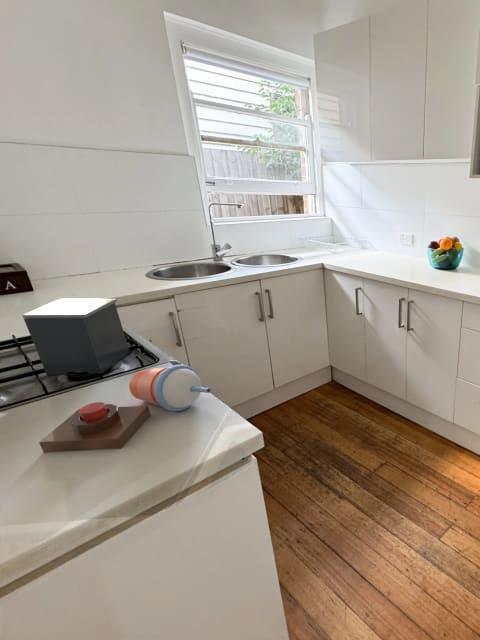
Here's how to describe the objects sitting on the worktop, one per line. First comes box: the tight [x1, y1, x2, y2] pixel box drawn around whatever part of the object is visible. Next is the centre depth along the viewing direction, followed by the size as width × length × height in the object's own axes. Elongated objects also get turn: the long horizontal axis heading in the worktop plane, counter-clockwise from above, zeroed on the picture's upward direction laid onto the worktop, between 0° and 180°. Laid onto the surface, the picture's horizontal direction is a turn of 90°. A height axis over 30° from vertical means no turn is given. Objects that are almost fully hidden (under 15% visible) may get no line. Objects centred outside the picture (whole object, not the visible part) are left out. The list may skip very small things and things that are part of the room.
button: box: [78, 401, 108, 421], centre depth 67 cm, size 4×4×2 cm
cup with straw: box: [128, 364, 212, 412], centre depth 75 cm, size 9×9×18 cm
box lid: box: [21, 298, 118, 319], centre depth 87 cm, size 12×12×1 cm
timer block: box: [38, 403, 151, 453], centre depth 68 cm, size 12×10×4 cm
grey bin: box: [23, 302, 130, 376], centre depth 90 cm, size 12×12×14 cm
